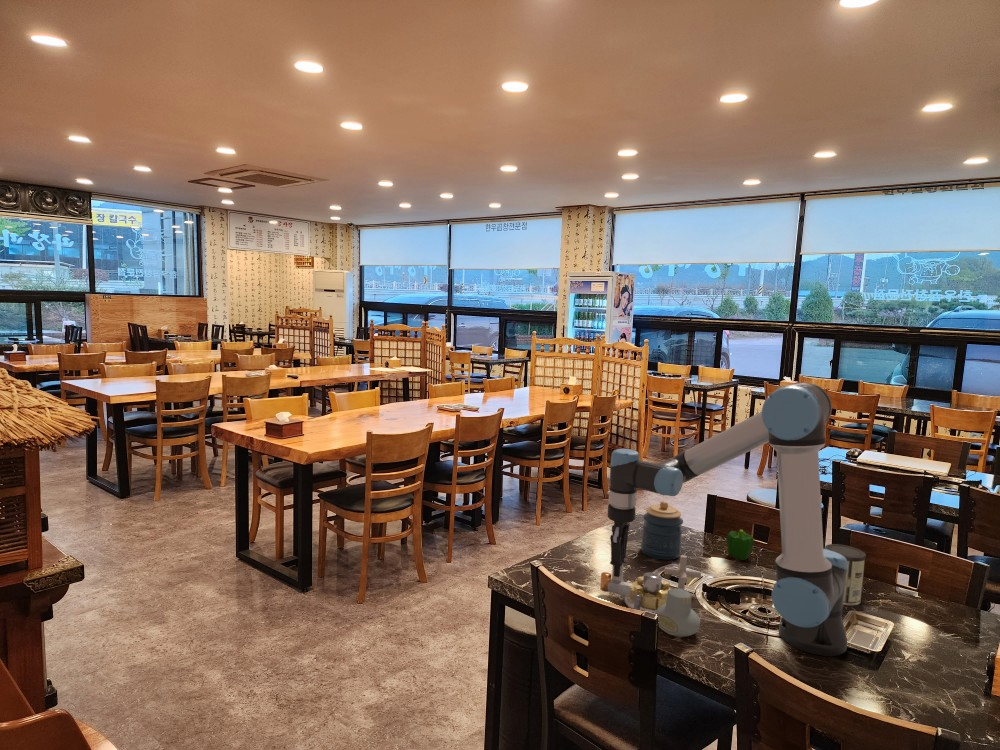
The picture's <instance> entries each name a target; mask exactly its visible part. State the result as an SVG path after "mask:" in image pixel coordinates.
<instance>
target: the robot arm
mask: <svg viewBox="0 0 1000 750" xmlns="http://www.w3.org/2000/svg"><path fill="white" fill-rule="evenodd" d="M764 400H765V401H764V402H763V404H762V409H761V411H760V412H758V413H757V414H754V415H752V416H750V417H749V418H747V419H744V420H742V421H741V422H739V423H737V424H735V425H733V426H731V427H729V428H727V429H725V430H723V431H721V432H719V433H717V434H715V435H714V436H711V437H710V438H708V439H706V440H704V441H702V442H700V443H698V444H696V445H694V446H693V447H691V448H688V449H686V450H685V451H683V452H680V453H679V454H676V455H675V456H673V457H671V458H668V459H666V460H662V461H660V462H657V463H654V462H650V461H644V460H642V459H640V454H639V452H638V451H636V450H634V449H629V448H617V449H615V450H613V451H612V452H611V458H610V464H609V467H610V469H609V471H610V472H609V484H608V485H609V487H608V491H607V492H606V494H607V495H608V505H607V517H608V519H609V520H611V521H613V523H614V524H613V525H611V532H612V534H610V562H609V564H610V565H611V566H612V573H611V579H612V580H617V581H622V582H624V580H623V579H624V564H627V562H628V561H627V560H626V557H627V547H628V537H629V529H630V525H631V524H630V523H632V522H634V521H635V519H636V506H637V497H638V495H637V494H638V490H637V489H640V490H643V491H647V492H650V493H651V492H652V493H655V494H659V495H661V496H669V497H675V496H678V495H679V494H680V492H681V491H682V487H683V484H685V483H687V482H690V481H691V480H693V479H695V478H697V477H699V476H701V475H704V473H707V472H708V471H710V470H713V469H714V468H718V467H719V466H722V465H723V464H725V463H728V462H730V461H732V460H735V459H736V458H738V457H740V456H742V455H744V454H745V455H746V453H748V452H751V451H753V450H755V449H758V448H759V447H761V446H763V445H766V444H767V443H768V444H769V445H770V447H771V448H773V450H775V452H776V462H777V463H776V464H777V480H778V481H777V482H778V500H779V503H778V504H779V518H780V520H779V521H780V537H781V553H780V555H779V556H777V557H776V558H775V577H776V578H775V580H776V582H775V583H774V584H773V587H772V588H771V589H772V591H771V602H772V605H773V607H774V609H775V611H776V612H777V613H778V615H780V617H782V618H781V619H780V621H779V625H778V626H779V627H778V634H779V636H780V638H781V639H783V640H784V641H785V642H786V643H787V644H789V645H791V646H792V647H793V648H796V649H798V650H800V651H803V652H806V653H808V654H811V655H812V654H813V655H816V656H817V655H819V656H823V657H836V656H837V657H838V656H840V655H843V654H845V653H846V651H847V648H848V637H847V633H846V632H847V631H846V628H845V625H844V621H843V616H842V615H843V608H844V605H843V600H844V591H845V582H846V572H847V571H848V569H847V560H846V558H845V557H844V556H842V555H841V554H839V553H836V552H834V551H830V550H827V549H825V548H824V537H823V536H824V535H823V517H822V501H821V500H822V499H821V497H822V496H821V481H820V479H821V478H820V462H819V461H820V459H819V456H820V455H819V451H820V450H821V449H822V448H824V446H825V445H826V427H825V425H826V423H827V422H828V421H829V419H830V418H831V414H832V411H833V404H832V400H831V398H830V395H829V394H828V392H827V391H826V390H825V389H823V388H822V387H821V386H820V385H817V384H815V383H811V382H797V383H795V384H794V383H793V384H789V385H788V384H787V385H783V386H780V387H778V388H776V389H775V390H773V391H772V392H771V393H770V394H768V396H767V397H766V398H765V399H764Z"/></svg>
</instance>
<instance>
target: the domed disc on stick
mask: <svg viewBox="0 0 1000 750" xmlns="http://www.w3.org/2000/svg"><path fill="white" fill-rule="evenodd" d="M643 577H644V576H638V577H637V579H636V580H635V581H633V582H626V581H617V580H612V573H610V572H606V571H604V572H601V575H600V591H602V592H606V593H607V592H608V593H613V594H617V595H621V596H625V595H626V596H630V599H631V600H632V601H634V598H635V594H640V595H641V603H640V605H641V606H643V607H647V608H652V609H656V608H657V609H658V608H659V607H661V606H662V605H665V604H666V602H667V592H668V590H670V589H672V588H671V587H670V583H669V582H668V581H667V580H666V581H663V580H662V581H661V590H659V591H657V595H652V594H647V593H644V592H643V589H644V588H643Z"/></svg>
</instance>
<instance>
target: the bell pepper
mask: <svg viewBox="0 0 1000 750" xmlns="http://www.w3.org/2000/svg"><path fill="white" fill-rule="evenodd" d="M726 546H727V547H726V548H727V551H728V552H727V553H728V555H729V556H730V557H732V558H734V559H736V560H741V561H745V560H747V559H748V558H749V557H750V555H751V553H752V551H753V547H754V537H753V535H752V534H748V533H746V532H745V531H744V530H743V529H739V531H738V532H736V531H735V530H731V531H730V532H729V533H728V535H727V537H726Z"/></svg>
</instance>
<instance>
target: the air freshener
mask: <svg viewBox="0 0 1000 750" xmlns="http://www.w3.org/2000/svg"><path fill="white" fill-rule="evenodd" d="M692 596H693V595H692V594H691V592H689V591H688V590H686V589H684V590H683V589H679V588H678V587H676V588H675V587H674V588H671V589H670V590H668V592H667V602H666V604H665V605H662V606H661V607H659V608H658V609H657V611H656V613H655V614H657V616H658V620H659V626H658V627H659V628H660V629H661V630H662V631H663V632H665V633H666V634H668V635H670V636H674V637H679V638H684V637H685V638H686V637H690V636H693V635H695V634H696V633H697V632H698V631H699V629H700V626H701V619H700V617H699V615H698V614H697V613H696V611H694V609H692Z"/></svg>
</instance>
